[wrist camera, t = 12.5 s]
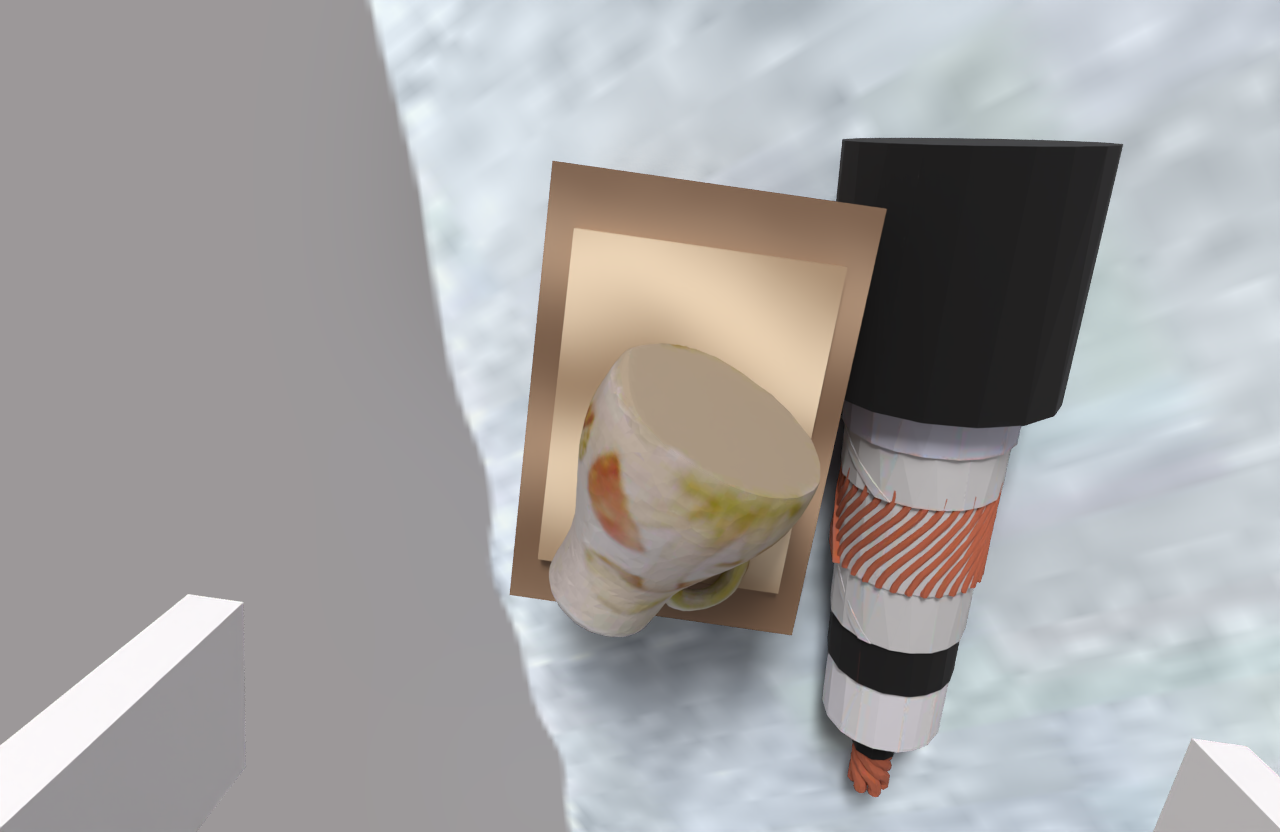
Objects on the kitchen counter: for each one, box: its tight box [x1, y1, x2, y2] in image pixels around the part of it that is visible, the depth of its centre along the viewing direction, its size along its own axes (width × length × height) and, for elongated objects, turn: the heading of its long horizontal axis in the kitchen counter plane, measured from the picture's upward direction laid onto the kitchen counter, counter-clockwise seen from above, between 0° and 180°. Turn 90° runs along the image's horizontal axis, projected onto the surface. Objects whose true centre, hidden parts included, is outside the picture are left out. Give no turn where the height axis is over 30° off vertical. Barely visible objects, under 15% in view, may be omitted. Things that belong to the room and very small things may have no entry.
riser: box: [510, 161, 887, 635], centre depth 32 cm, size 16×11×13 cm
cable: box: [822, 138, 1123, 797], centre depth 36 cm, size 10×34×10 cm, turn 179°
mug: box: [549, 343, 820, 637], centre depth 23 cm, size 7×10×10 cm
